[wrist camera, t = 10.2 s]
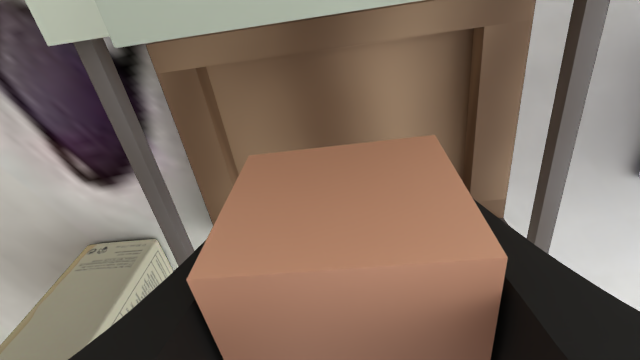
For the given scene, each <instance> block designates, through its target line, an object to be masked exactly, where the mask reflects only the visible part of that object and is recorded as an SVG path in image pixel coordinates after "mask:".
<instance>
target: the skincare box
mask: <svg viewBox="0 0 640 360" xmlns="http://www.w3.org/2000/svg"><path fill="white" fill-rule="evenodd" d="M172 273H173V270H172V268H171V266H170V264H169V262H168V259H167V258H166V256H165V254H164V252H163V250H162V248H161V246H160V244H159V243H158V241H157V240H156V239H149V240H136V241H123V242H111V243H102V244H93V245H88V246H87V247H86V248H85V249H84V250H83V252H82V253H81V254H80V255H79V256H78V257H77V258H76V260H75V261H74V262H73V263H72V264H71V265H70V266H69V268H68V269H67V270H66V271H65V272H64V273H63V274H62V276H61V277H60V278H59V279H58V280H57V281H56V282H55V284H54V285H53V286H52V287H51V288H50V289H49V290H48V292H47V293H46V294H45V295H44V296H43V297H42V298H41V300H40V301H39V302H38V303H37V304H36V305H35V307H34V308H33V309H32V310H31V311H30V312H29V313H28V315H27V316H26V317H25V318H24V319H23V320H22V321H21V323H20V324H19V325H18V326H17V327H16V328H15V329H14V330H13V332H12V333H11V334H10V335H9V336H8V337H7V338H6V340H5V341H4V342H3V343H2V344H1V345H0V360H68V359H69V358H71V357H72V356H73V355H75V354H76V353H77V352H79V351H80V350H81V349H83V348H84V347H85V346H86V345H88V344H89V343H90V342H92V341H93V340H94V339H95V338H97V337H98V336H99V335H101V334H102V333H103V332H105V331H106V330H107V329H108V328H110V327H111V326H112V325H113V324H114V323H116V322H117V321H118V320H119V319H121V318H122V317H123V316H124V315H125V314H127V313H128V312H129V311H130V310H131V309H132V308H134V307H135V306H136V305H137V304H138V303H139V302H140V301H141V300H143V299H144V298H145V297H146V296H147V295H148V294H149V293H150V292H151V291H153V290H154V289H155V288H156V287H157V286H158V285H159V284H160V283H162V282H163V281H164V280H165V279H166V278H167V277H168V276H169V275H170V274H172Z"/></svg>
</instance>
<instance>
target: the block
mask: <svg viewBox="0 0 640 360" xmlns="http://www.w3.org/2000/svg"><path fill="white" fill-rule="evenodd" d="M507 259H508V257H507V255H506V254H505V252H504V250H503V249H502V247H501V245H500V244H499V242H498V240H497V238H496V237H495V235H494V233H493V232H492V230H491V228H490V227H489V225H488V223H487V222H486V220H485V218H484V217H483V215H482V213H481V212H480V210H479V208H478V207H477V205H476V203H475V201H474V200H473V198H472V196H471V195H470V193H469V191H468V190H467V188H466V186H465V185H464V183H463V181H462V180H461V178H460V176H459V175H458V173H457V171H456V169H455V168H454V166H453V164H452V163H451V161H450V159H449V158H448V156H447V154H446V153H445V151H444V149H443V148H442V146H441V144H440V143H439V141H438V139H437V137H436V136H435V135H429V136H420V137H410V138H401V139H392V140H383V141H374V142H365V143H356V144H347V145H338V146H329V147H320V148H311V149H302V150H293V151H284V152H275V153H266V154H257V155H249V156H248V158H247V160H246V162H245V164H244V166H243V168H242V170H241V172H240V174H239V176H238V178H237V180H236V182H235V184H234V186H233V188H232V190H231V192H230V194H229V196H228V198H227V200H226V202H225V204H224V206H223V208H222V210H221V212H220V214H219V216H218V218H217V220H216V222H215V224H214V226H213V228H212V230H211V232H210V234H209V236H208V238H207V240H206V242H205V244H204V246H203V248H202V250H201V252H200V254H199V256H198V258H197V260H196V262H195V264H194V266H193V268H192V270H191V272H190V274H189V275H188V277H187V279H186V280H187V283H188V285H189V287H190V289H191V291H192V293H193V295H194V297H195V300H196V302H197V304H198V306H199V308H200V310H201V312H202V314H203V317H204V319H205V321H206V323H207V325H208V327H209V329H210V331H211V334H212V336H213V338H214V340H215V342H216V344H217V346H218V348H219V351H220V353H221V355H222V357H223V359H224V360H491V354H492V348H493V342H494V336H495V330H496V324H497V318H498V313H499V307H500V301H501V295H502V289H503V283H504V277H505V271H506V265H507Z"/></svg>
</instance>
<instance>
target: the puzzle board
mask: <svg viewBox="0 0 640 360" xmlns="http://www.w3.org/2000/svg"><path fill="white" fill-rule="evenodd" d="M535 2H536V0H423V1H416V2H410V3H403V4H397V5H390V6H384V7H377V8H371V9H364V10H358V11H351V12H345V13H339V14H332V15H326V16H319V17H313V18H306V19H300V20H293V21H287V22H280V23H274V24H267V25H261V26H255V27H248V28H242V29H235V30H229V31H222V32H216V33H209V34H203V35H196V36H190V37H184V38H177V39H171V40H164V41H158V42H153V43H150V44H147V45H146V47H147V50H148V53H149V55H150V58H151V61H152V63H153V66H154V69H155V71H156V74H157V77H158V79H159V82H160V85H161V87H162V90H163V93H164V95H165V98H166V101H167V103H168V106H169V109H170V111H171V114H172V117H173V119H174V122H175V125H176V127H177V130H178V133H179V135H180V138H181V141H182V143H183V146H184V149H185V151H186V154H187V157H188V159H189V162H190V165H191V167H192V170H193V173H194V175H195V178H196V181H197V183H198V186H199V189H200V191H201V194H202V197H203V199H204V202H205V205H206V207H207V210H208V213H209V215H210V218H211V221H212V223H213V226H214V224H215V222H216V220H217V218H218V216H219V214H220V212H221V210H222V208H223V206H224V204H225V202H226V200H227V198H228V196H229V194H230V192H231V190H232V188H233V186H234V184H235V182H236V180H237V178H238V176H239V174H240V172H241V170H242V168H243V166H244V164H245V162H246V160H247V158H248V156H249V155H257V154H266V153H275V152H284V151H293V150H302V149H311V148H320V147H329V146H338V145H347V144H356V143H365V142H374V141H383V140H392V139H401V138H410V137H420V136H429V135H435V136H436V137H437V139H438V141H439V143H440V144H441V146H442V148H443V149H444V151H445V153H446V154H447V156H448V158H449V159H450V161H451V163H452V164H453V166H454V168H455V169H456V171H457V173H458V175H459V176H460V178H461V180H462V181H463V183H464V185H465V186H466V188H467V190H468V191H469V193H470V195H471V196H472V198H473V199H474V200H476V201H477V202H478V203H480V204H481V205H482V206H484V207H485V208H486V209H488V210H489V211H490V212H491V213H493V214H494V215H495V216H497V217H498V218H499V219H501V220H502V221H503V222H505V223H506V221H505V220H504V218H503V216H504V210H505V203H506V196H507V190H508V183H509V176H510V170H511V163H512V156H513V150H514V143H515V136H516V129H517V123H518V116H519V109H520V103H521V96H522V89H523V83H524V76H525V69H526V62H527V56H528V49H529V42H530V36H531V29H532V22H533V16H534V9H535ZM609 2H610V0H574V4H573V9H572V14H571V19H570V24H569V29H568V34H567V39H566V44H565V49H564V54H563V59H562V64H561V69H560V74H559V79H558V84H557V89H556V94H555V99H554V104H553V109H552V114H551V119H550V124H549V129H548V134H547V140H546V145H545V150H544V155H543V160H542V165H541V170H540V175H539V180H538V185H537V190H536V195H535V200H534V205H533V210H532V215H531V220H530V225H529V230H528V235H527V240H529V241H530V242H532V243H533V244H534V245H536V246H537V247H539V248H540V249H542V250H543V251H544V252H546V253H547V254H548V251H549V247H550V243H551V239H552V235H553V231H554V227H555V223H556V219H557V215H558V211H559V207H560V202H561V198H562V194H563V190H564V186H565V182H566V178H567V174H568V170H569V166H570V162H571V158H572V153H573V149H574V145H575V141H576V137H577V133H578V129H579V125H580V121H581V117H582V113H583V109H584V104H585V100H586V96H587V92H588V88H589V84H590V80H591V76H592V72H593V68H594V64H595V60H596V55H597V51H598V47H599V43H600V39H601V35H602V31H603V27H604V23H605V19H606V15H607V11H608V6H609ZM73 44H74V46H75V48H76V50H77V52H78V54H79V56H80V58H81V61H82V63H83V65H84V67H85V69H86V71H87V73H88V75H89V77H90V80H91V82H92V84H93V86H94V88H95V90H96V92H97V94H98V96H99V99H100V101H101V103H102V105H103V107H104V109H105V111H106V113H107V116H108V118H109V120H110V122H111V124H112V126H113V128H114V130H115V132H116V135H117V137H118V139H119V141H120V143H121V145H122V147H123V149H124V152H125V154H126V156H127V158H128V160H129V162H130V164H131V166H132V168H133V171H134V173H135V175H136V177H137V179H138V181H139V183H140V185H141V188H142V190H143V192H144V194H145V196H146V198H147V200H148V202H149V204H150V207H151V209H152V211H153V213H154V215H155V217H156V219H157V221H158V223H159V226H160V228H161V230H162V232H163V234H164V236H165V238H166V240H167V243H168V245H169V247H170V249H171V251H172V253H173V255H174V257H175V259H176V262H177V264H178V266H180V265H181V264H182V263H183V262H184V261H185V260H186V259H187V258H188V257H189V256H190V255H191V254H192V253H193V252H194V249H193V247H192V245H191V242H190V240H189V238H188V235H187V233H186V231H185V228H184V226H183V224H182V221H181V219H180V217H179V214H178V212H177V210H176V207H175V205H174V203H173V200H172V198H171V196H170V193H169V191H168V189H167V186H166V184H165V182H164V180H163V177H162V175H161V173H160V170H159V168H158V166H157V163H156V161H155V159H154V156H153V154H152V152H151V149H150V147H149V145H148V142H147V140H146V138H145V135H144V133H143V131H142V128H141V126H140V124H139V121H138V119H137V117H136V114H135V112H134V110H133V107H132V105H131V103H130V100H129V98H128V96H127V93H126V91H125V89H124V86H123V84H122V82H121V79H120V77H119V75H118V72H117V70H116V68H115V65H114V63H113V61H112V58H111V56H110V54H109V51H108V49H107V47H106V44H105V42H104V40H103V38H97V39H91V40H84V41H78V42H73ZM506 224H507V223H506ZM507 225H508V224H507Z"/></svg>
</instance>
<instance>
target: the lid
mask: <svg viewBox="0 0 640 360" xmlns="http://www.w3.org/2000/svg"><path fill="white" fill-rule="evenodd" d="M416 1H423V0H25V2H26V4H27V6H28V8H29V10H30V11H31V13H32V15H33V17H34V19H35V21H36V23H37V25H38V27H39V29H40V31H41V33H42V35H43V37H44V39H45V41H46V43H47V45H48V46H53V45H59V44H65V43H72V42H78V41H84V40H91V39H97V38H103V37H109V36H110V38H111V41H112V43H113V46H114V48H119V47H125V46H132V45H138V44H145V43H151V42H158V41H164V40H171V39H177V38H184V37H190V36H196V35H203V34H209V33H216V32H222V31H229V30H235V29H242V28H248V27H255V26H261V25H267V24H274V23H280V22H287V21H293V20H300V19H306V18H313V17H319V16H326V15H332V14H339V13H345V12H351V11H358V10H364V9H371V8H377V7H384V6H390V5H397V4H403V3H410V2H416Z"/></svg>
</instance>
